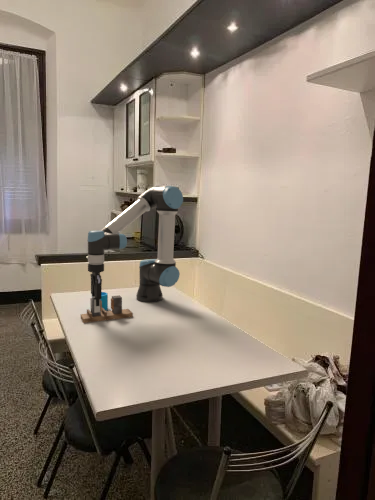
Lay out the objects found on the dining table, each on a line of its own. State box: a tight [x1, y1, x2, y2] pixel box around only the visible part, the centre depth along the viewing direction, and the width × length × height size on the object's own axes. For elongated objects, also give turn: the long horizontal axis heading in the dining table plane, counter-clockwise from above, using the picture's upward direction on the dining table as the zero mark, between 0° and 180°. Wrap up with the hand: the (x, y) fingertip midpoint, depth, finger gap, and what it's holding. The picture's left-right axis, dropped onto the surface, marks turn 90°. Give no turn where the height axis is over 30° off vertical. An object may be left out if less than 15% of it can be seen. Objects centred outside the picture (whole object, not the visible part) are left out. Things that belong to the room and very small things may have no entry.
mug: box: [101, 291, 109, 311], centre depth 206 cm, size 12×8×8 cm
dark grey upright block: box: [89, 297, 102, 317], centre depth 188 cm, size 5×4×8 cm
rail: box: [80, 295, 134, 324], centre depth 191 cm, size 24×7×10 cm, turn 116°
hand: (96, 310), depth 189 cm, fingers closed on dark grey upright block, 4 cm apart
